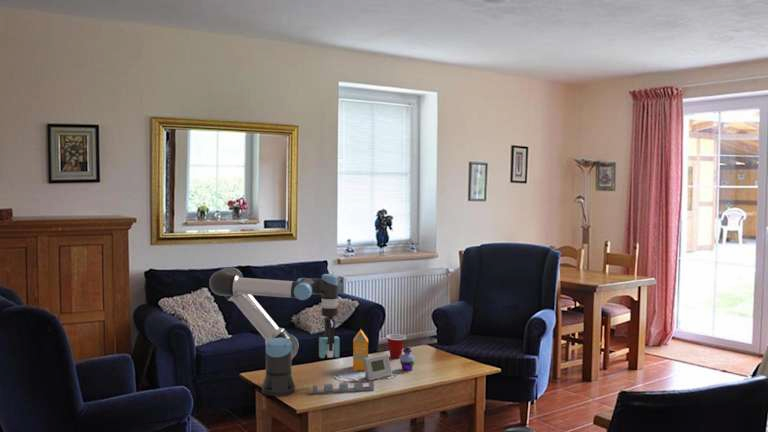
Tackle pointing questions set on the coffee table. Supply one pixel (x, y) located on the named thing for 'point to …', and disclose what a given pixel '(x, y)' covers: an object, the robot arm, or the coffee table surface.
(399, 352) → the plastic cup
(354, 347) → the orange juice
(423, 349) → the coffee table surface
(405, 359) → the potion bottle
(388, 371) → the digital clock
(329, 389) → the rail
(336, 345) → the block
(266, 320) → the robot arm
